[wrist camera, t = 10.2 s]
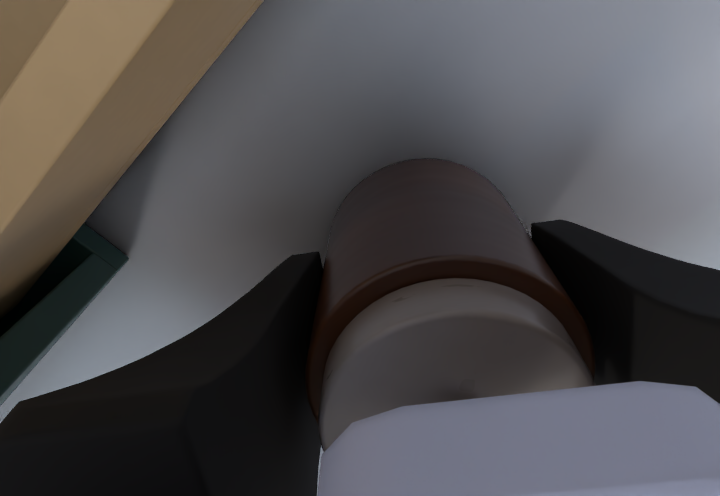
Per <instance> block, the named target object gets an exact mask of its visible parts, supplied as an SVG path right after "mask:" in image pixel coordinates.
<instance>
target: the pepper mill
mask: <svg viewBox="0 0 720 496" xmlns="http://www.w3.org/2000/svg"><path fill="white" fill-rule="evenodd" d="M594 376H595V352H594V347H593V343H592V338H591V335H590V333H589V330H588V328H587V325H586V323H585V321H584V319H583V317H582V316H581V314H580V313H579V311H578V309H577V308H576V306H575V305H574V303H573V302H572V300H571V299H570V297H569V296H568V294H567V293H566V291H565V289H564V288H563V286H562V285H561V283H560V282H559V280H558V279H557V277H556V276H555V274H554V273H553V271H552V270H551V268H550V267H549V265H548V264H547V262H546V260H545V259H544V257H543V256H542V254H541V253H540V251H539V250H538V248H537V247H536V245H535V244H534V242H533V241H532V239H531V238H530V236H529V235H528V233H527V231H526V230H525V228H524V227H523V225H522V224H521V222H520V221H519V219H518V218H517V216H516V215H515V213H514V212H513V210H512V209H511V207H510V206H509V204H508V202H507V201H506V199H505V198H504V196H503V195H502V194H501V193H500V191H499V190H498V189H497V188H496V187H495V186H494V185H493V184H492V183H491V182H490V181H489V180H488V179H486V178H485V177H484V176H482V175H481V174H479V173H478V172H476V171H474V170H472V169H470V168H468V167H466V166H464V165H461V164H457V163H454V162H451V161H445V160H440V159H414V160H408V161H403V162H398V163H396V164H393V165H390V166H387V167H385V168H383V169H381V170H379V171H377V172H375V173H373V174H371V175H370V176H368V177H367V178H365V179H364V180H363V181H362V182H360V183H359V184H358V185H357V186H356V187H355V188H354V189H353V190H352V191H351V192H350V193H349V194H348V196H347V197H346V198H345V200H344V201H343V203H342V204H341V206H340V207H339V209H338V211H337V213H336V215H335V217H334V220H333V223H332V226H331V230H330V235H329V241H328V246H327V252H326V257H325V262H324V268H323V273H322V279H321V284H320V290H319V295H318V301H317V306H316V311H315V317H314V322H313V328H312V333H311V339H310V344H309V349H308V355H307V361H306V367H305V386H306V392H307V398H308V401H309V404H310V407H311V410H312V413H313V415H314V417H315V419H316V421H317V423H318V430H319V437H320V442H321V445H322V448H323V451H324V452H325V451H326V450H327V449H328V448H329V447H330V446H331V444H332V443H333V442H334V441H335V440H336V439H337V438H338V437H339V436H340V435H341V434H342V433H343V432H344V431H345V430H346V429H347V428H348V427H349V426H350V424H351V423H353V422H356V421H359V420H362V419H365V418H368V417H371V416H374V415H377V414H380V413H383V412H386V411H389V410H392V409H395V408H399V407H402V406H410V405H419V404H429V403H438V402H447V401H457V400H466V399H476V398H485V397H494V396H504V395H513V394H523V393H532V392H542V391H551V390H560V389H570V388H579V387H589V386H596V384H595V382H594Z"/></svg>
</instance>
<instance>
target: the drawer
mask: <svg viewBox="0 0 720 496" xmlns="http://www.w3.org/2000/svg"><path fill="white" fill-rule="evenodd" d="M263 1H264V0H0V319H1V318H3V317H4V316H5V315H6V314H7V313H8V312H9V311H11V310H12V309H13V308H14V307H15V306H16V305H18V303H19V302H20V301H21V300H22V298H23V297H24V296H25V295H26V293H27V292H28V291H29V290H30V289H31V287H32V286H33V285H34V284H35V282H36V281H37V280H38V279H39V277H40V276H41V275H42V274H43V273H44V271H45V270H46V269H47V268H48V266H49V265H50V264H51V263H52V261H53V260H54V259H55V258H56V256H57V255H58V254H59V253H60V252H61V250H62V249H63V248H64V247H65V245H66V244H67V243H68V242H69V240H70V239H71V238H72V237H73V236H74V234H75V233H76V232H77V231H78V229H79V228H80V227H81V226H82V224H83V223H84V222H85V221H86V219H87V218H88V217H89V216H90V215H91V213H92V212H93V211H94V210H95V208H96V207H97V206H98V205H99V203H100V202H101V201H102V200H103V199H104V197H105V196H106V195H107V194H108V192H109V191H110V190H111V189H112V187H113V186H114V185H115V184H116V182H117V181H118V180H119V179H120V178H121V176H122V175H123V174H124V173H125V171H126V170H127V169H128V168H129V166H130V165H131V164H132V163H133V162H134V160H135V159H136V158H137V157H138V155H139V154H140V153H141V152H142V150H143V149H144V148H145V147H146V145H147V144H148V143H149V142H150V141H151V139H152V138H153V137H154V136H155V134H156V133H157V132H158V131H159V129H160V128H161V127H162V126H163V125H164V123H165V122H166V121H167V120H168V118H169V117H170V116H171V115H172V113H173V112H174V111H175V110H176V108H177V107H178V106H179V105H180V104H181V102H182V101H183V100H184V99H185V97H186V96H187V95H188V94H189V92H190V91H191V90H192V89H193V88H194V86H195V85H196V84H197V83H198V81H199V80H200V79H201V78H202V76H203V75H204V74H205V73H206V71H207V70H208V69H209V68H210V67H211V65H212V64H213V63H214V62H215V60H216V59H217V58H218V57H219V55H220V54H221V53H222V52H223V51H224V49H225V48H226V47H227V46H228V44H229V43H230V42H231V41H232V39H233V38H234V37H235V36H236V34H237V33H238V32H239V31H240V30H241V28H242V27H243V26H244V25H245V23H246V22H247V21H248V20H249V18H250V17H251V16H252V15H253V14H254V12H255V11H256V10H257V9H258V7H259V6H260V5H261V4H262V2H263Z"/></svg>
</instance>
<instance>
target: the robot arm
mask: <svg viewBox="0 0 720 496" xmlns="http://www.w3.org/2000/svg"><path fill="white" fill-rule="evenodd" d="M531 234H532V241H533V242H534V244H535V245H536V247H537V248H538V250H539V251H540V253H541V254H542V256H543V257H544V259H545V260H546V262H547V264H548V265H549V267H550V268H551V270H552V271H553V273H554V274H555V276H556V277H557V279H558V280H559V282H560V283H561V285H562V286H563V288H564V289H565V291H566V293H567V294H568V296H569V297H570V299H571V300H572V302H573V303H574V305H575V306H576V308H577V309H578V311H579V313H580V314H581V316H582V317H583V319H584V321H585V323H586V325H587V328H588V330H589V333H590V335H591V338H592V343H593V347H594V352H595V376H594V382H595V384H596V386H589V387H579V388H570V389H560V390H551V391H542V392H532V393H523V394H513V395H504V396H494V397H485V398H476V399H466V400H457V401H447V402H438V403H429V404H419V405H410V406H402V407H399V408H395V409H392V410H389V411H386V412H383V413H380V414H377V415H374V416H371V417H368V418H365V419H362V420H359V421H356V422H353V423H351V424H350V426H349V427H348V428H347V429H346V430H345V431H344V432H343V433H342V434H341V435H340V436H339V437H338V438H337V439H336V440H335V441H334V442H333V443H332V444H331V446H330V447H329V448H328V449H327V450H326V451H325V452H324V453H323V454H322V459H321V468H320V477H319V486H318V494H317V480H318V464H319V456H320V448H321V442H320V437H319V430H318V423H317V421H316V419H315V417H314V415H313V413H312V410H311V407H310V404H309V401H308V398H307V392H306V386H305V367H306V361H307V355H308V349H309V344H310V339H311V333H312V328H313V322H314V317H315V311H316V306H317V301H318V295H319V290H320V284H321V279H322V273H323V267H322V262H321V258H320V253H319V252H312V253H304V254H297V255H292V256H290V257H289V258H287V259H286V260H285V261H284V262H282V263H281V264H280V265H279V266H278V267H277V268H275V269H274V270H273V271H272V272H271V273H270V274H269V275H267V276H266V277H265V278H264V279H263V280H262V281H261V282H259V283H258V284H257V285H256V286H255V287H254V288H253V289H251V290H250V291H249V292H248V293H246V294H245V295H244V296H243V297H241V298H240V299H239V300H237V301H236V302H235V303H234V304H232V305H231V306H230V307H228V308H227V309H226V310H225V311H223V312H222V313H221V314H219V315H218V316H216V317H215V318H213V319H212V320H210V321H209V322H207V323H206V324H204V325H203V326H201V327H199V328H198V329H196V330H194V331H193V332H191V333H190V334H188V335H186V336H184V337H183V338H181V339H179V340H177V341H175V342H173V343H171V344H169V345H167V346H165V347H163V348H161V349H159V350H157V351H155V352H154V353H152V354H150V355H148V356H146V357H144V358H141V359H139V360H137V361H135V362H132V363H130V364H128V365H125V366H123V367H121V368H118V369H116V370H113V371H111V372H108V373H105V374H103V375H100V376H98V377H95V378H92V379H90V380H87V381H84V382H81V383H78V384H75V385H72V386H69V387H66V388H62V389H59V390H56V391H53V392H50V393H47V394H43V395H40V396H37V397H34V398H30V399H27V400H23V401H20V402H19V403H18V404H17V405H16V406H15V407H14V408H13V409H12V410H11V412H10V413H9V414H8V415H7V416H6V417H5V419H4V420H3V421H2V422H1V423H0V496H720V270H716V269H712V268H708V267H703V266H699V265H695V264H691V263H687V262H683V261H680V260H676V259H673V258H669V257H666V256H663V255H660V254H657V253H654V252H650V251H647V250H644V249H642V248H639V247H636V246H633V245H630V244H627V243H625V242H622V241H619V240H617V239H614V238H612V237H609V236H606V235H604V234H601V233H599V232H596V231H593V230H591V229H588V228H586V227H583V226H580V225H578V224H575V223H572V222H568V221H564V220H554V221H546V222H539V223H531Z"/></svg>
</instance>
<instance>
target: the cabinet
mask: <svg viewBox="0 0 720 496" xmlns="http://www.w3.org/2000/svg"><path fill="white" fill-rule="evenodd" d="M128 260H129V257H128V256H126V255H125V254H124V253H122V252H121V251H120V250H118V249H117V248H116V247H114V246H113V245H112V244H110V243H109V242H108V241H106V240H105V239H104V238H102V237H101V236H100V235H99V234H97V233H96V232H95V231H93V230H92V229H91V228H89V227H88V226H87V225H85V224H84V223H83V224H82V226H81V227H80V228H79V229H78V231H77V232H76V233H75V234H74V236H73V237H72V238H71V239H70V240H69V242H68V243H67V244H66V245H65V247H64V248H63V249H62V250H61V252H60V253H59V254H58V255H57V256H56V258H55V259H54V260H53V261H52V263H51V264H50V265H49V266H48V268H47V269H46V270H45V271H44V273H43V274H42V275H41V276H40V277H39V279H38V280H37V281H36V282H35V284H34V285H33V286H32V287H31V289H30V290H29V291H28V292H27V293H26V295H25V296H24V297H23V298H22V300H21V301H20V302H19V303H18V305H16V306H15V307H14V308H13V309H12V310H11V311H9V312H8V313H7V314H6V315H5V316H4V317H3V318H1V319H0V405H1V404H2V403H3V402H4V401H5V400H6V399H7V398H8V396H9V395H10V394H11V393H12V392H13V391H14V390H15V388H16V387H17V386H18V385H19V384H20V383H21V382H22V380H23V379H24V378H25V377H26V376H27V375H28V374H29V372H30V371H31V370H32V369H33V368H34V367H35V366H36V365H37V363H38V362H39V361H40V360H41V359H42V358H43V357H44V355H45V354H46V353H47V352H48V351H49V350H50V349H51V347H52V346H53V345H54V344H55V343H56V342H57V341H58V339H59V338H60V337H61V336H62V335H63V334H64V333H65V332H66V330H67V329H68V328H69V327H70V326H71V325H72V324H73V322H74V321H75V320H76V319H77V318H78V317H79V316H80V314H81V313H82V312H83V311H84V310H85V309H86V308H87V306H88V305H89V304H90V303H91V302H92V301H93V300H94V298H95V297H96V296H97V295H98V294H99V293H100V292H101V291H102V289H103V288H104V287H105V286H106V285H107V284H108V283H109V281H110V280H111V279H112V278H113V277H114V276H115V275H116V273H117V272H118V271H119V270H120V269H121V268H122V267H123V265H124V264H125V263H126V262H127V261H128Z"/></svg>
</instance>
